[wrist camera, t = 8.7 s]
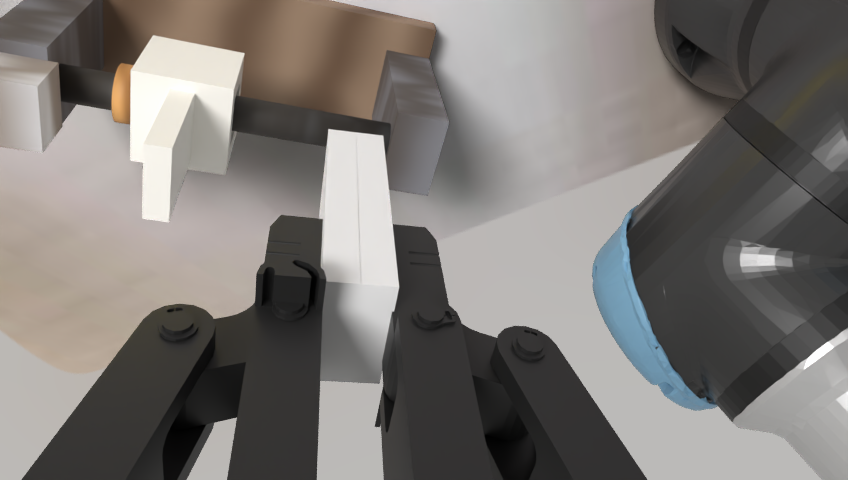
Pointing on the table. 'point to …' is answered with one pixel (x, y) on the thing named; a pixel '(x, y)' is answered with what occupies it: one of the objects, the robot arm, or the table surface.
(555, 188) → the table surface
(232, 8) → the cord rack
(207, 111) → the sleeve
